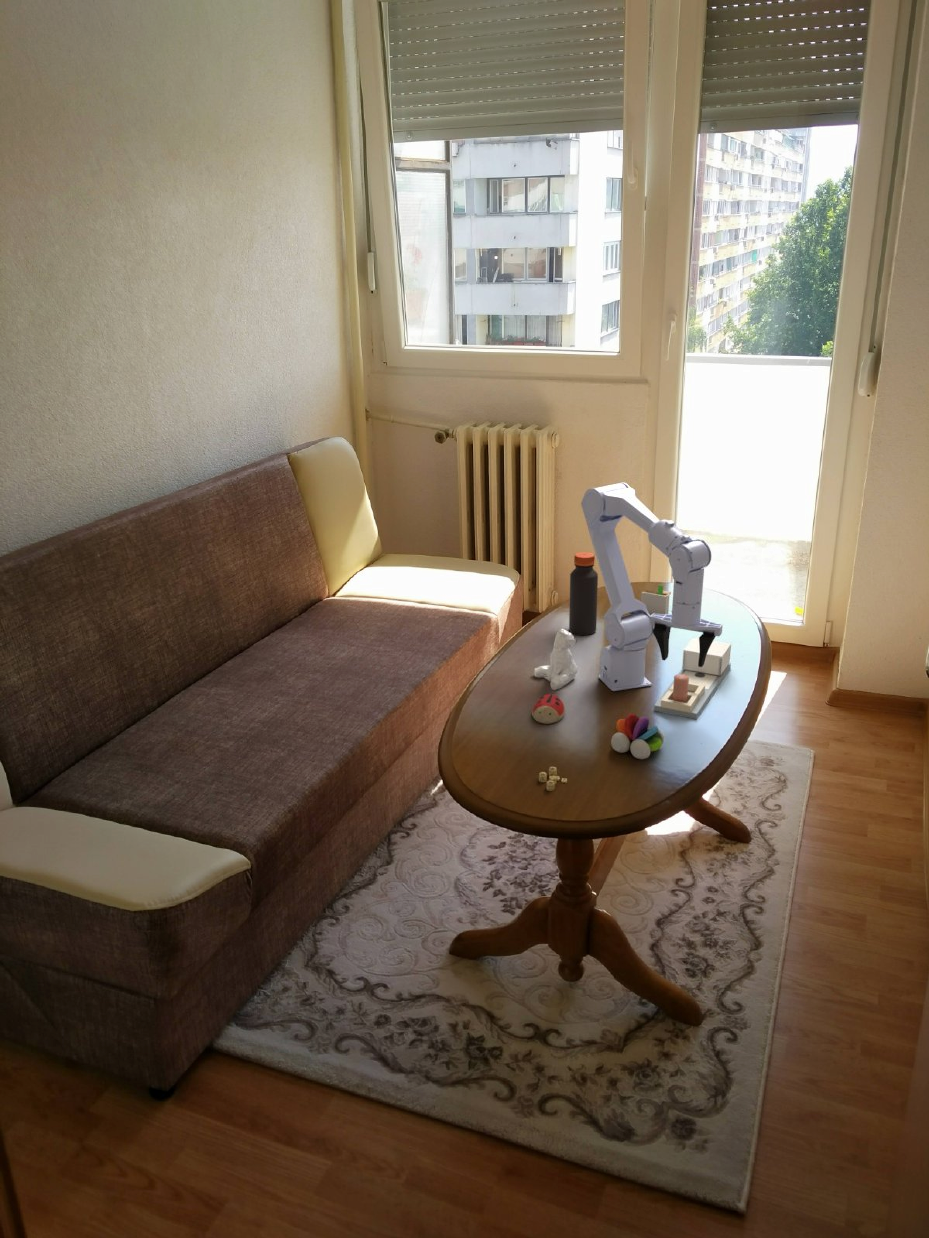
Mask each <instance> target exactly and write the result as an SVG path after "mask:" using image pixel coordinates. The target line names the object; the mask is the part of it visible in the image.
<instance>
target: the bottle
mask: <svg viewBox="0 0 929 1238" xmlns="http://www.w3.org/2000/svg"><path fill="white" fill-rule="evenodd" d="M573 557H574V558H573V559H574V562H573V563H574V566H575V568H574V569H573V570H572V571H571V572H570V574H569V610H568V611H569V617H568V618H569V619H568V621H569V622H568V631H570V633H571V634H572V635H573V634H574V635H577V636H590V635H593V634H595V633H596V631H597V622H598V621H597V620H598V619H597V616H598V615H597V614H598V612H597V611H598V585H599V584H598V582H599V576H598V572H597V571H596V570H595V569H594V566H595V561H596V560H595V557H596V554H595V553H593V552H590V551H589V552H588V551H579V552H576V553H574V556H573Z"/></svg>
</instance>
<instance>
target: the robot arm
mask: <svg viewBox="0 0 929 1238" xmlns="http://www.w3.org/2000/svg"><path fill="white" fill-rule="evenodd" d="M580 506H581V509H582V512H583V515H584V520H585V522H586V525H587V530H588V533H589V536H590V540H591V543H592V547H593V550H594V555H595V557H596V560H597V563H598V567H599V570H600V575H601V577H602V580H603V583H604V587H605V589H606V590H605V591H606V593H607V597H608V600H609V604H610V606H609V608H608V610H607V611H606V612H605V614H604V616H603V620H604V625H605V632H604V633H605V636H606V637H605V638H606V639H607V641H608V643H609V645H607V646H604V647H602V648H601V651H600V657H599V658H600V661H599V675H598V677H597V678H599V679H600V680H601V681H602V682H603V683H604V685H605V686H607V688H608V689H610V691H612V692H616V691H622V690H623V691H624V690H630V689H637V688H644V687H650V686H652V682H651V681H650V680H648V679H647V677H646V675H645V674H646V672H645V671H646V670H645V669H646V657H647V656H646V653H647V652H646V651H647V645H648V644H649V641H650V639H651V638H652V637H653V636H654V637H655V639H656V641H657V645H658V647H659V651H660V655H661V661H666V660H667V659H668V658H669V651H670V650H669V649H670V648H669V647H670V645H669V644H670V643H669V642H670V634H671V629H672V628H674V629H680V630H684V631H685V630H686V631H691V632H692V631H693V632H698V633H701V635H700V636H699V645H700V653H699V661H698V667H702V666H703V665H704V663H705V658H706V655H707V652H708V650H709V648H710V646H711V644H712V642H713V641H715V638H716V637H720V636H722V633H723V626H724V625H723V624H722V623H716V622H713V621H710V620H706V619H704V618H701V613H702V601H703V591H704V589H703V587H704V576H705V568H707V567H708V566H709V565H710V564H711V561H712V551H711V549H710V548H711V547H710V546H709V545H708V544H707V543H706V541H705V540H703V539H701V538H697V539H694V538H693V537H690V535H688V534H686V533H685V532H684V531H683V530H682V529H680V528H679V527H678V526H677V525H675V524H676V523H675V522H674V521H673V520H671V519H670V520H668V519H661V520H660V519H659V518H658V517H657V516H656V515H655V514H654V513H653V512H652V510H650V509H649V508H648V507H647V506H646V505H645V504H643V502H642V501H641V500H640V499H639V498H637V494H636V489H634V488H632V487H630V485H629V484H628V483H626V482H623V481H621V482H618V483H614V484H608V485H604V486H599V487H590V488H587V490H586V491H585V492H584V495H583V497H582V499H581V502H580ZM624 517H625V518H626V519H628V521H629V520H630V521H631V522H632V523H634V524H635V525H636V526H638V527H639V528H640V529H642V530H643V531H645V532H646V533H647V534H648V535H647V536H648V537H647V538H648V542H650V543H651V544H652V545H653V546H654V547H655V548H657V550H659V552H661V553H662V554H664V556H666V557H667V558H668V563H669V566H670V567H671V571H672V574H671V576H672V580H673V592H672V607H671V614H669V613H668V614H655V613H653V614H649V613H648V611H647V608H646V605H645V604H644V603H642V602H641V600H639V599H637V598H636V597H635V594H634V591H633V587H632V584H631V580H630V578H629V574H628V571H627V567H626V565H625V561H624V558H623V555H622V551H621V547H620V544H619V541H618V540H619V539H618V537H617V535H616V531H615V530H616V528H617V525H618V523H619V522H620V521H621V520H622V519H623V518H624ZM626 614H629V615H626ZM623 615H624V616H623ZM625 615H626V616H625Z"/></svg>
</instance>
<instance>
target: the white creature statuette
mask: <svg viewBox="0 0 929 1238" xmlns="http://www.w3.org/2000/svg"><path fill="white" fill-rule="evenodd" d="M554 638H555V639H554V644H553V645H552V647H553V649H552V652H551V653H550V654H549V656H550V663H549V665H548V664H547V665H539V666H538V667H535V668H534V669H533V670H534V672H533V673H534V677H535V678H538V679H539V678H543V679H545V680H547V681H548V682H550V688H551V690H554V691H557V690H561V689H562V688H563V687H564V686H566V685H568V684H569V683H571V681H573V680H574V679H575V678H576V675H577V674H578V670H579V668H578V667H577V664H576V661H575V660H574V658H573V654H572V652H571V650H570V648H572V646H573V645H575V644H576V638H575V636H574V635H573V633H571V632H569V630H566V629H564V628H561V629H559V630H558V631H557V632H556V635H555V637H554Z"/></svg>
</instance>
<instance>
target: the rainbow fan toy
mask: <svg viewBox="0 0 929 1238" xmlns="http://www.w3.org/2000/svg"><path fill="white" fill-rule="evenodd" d="M649 724H650V720H649V718H648V717H647V716H642V717H639V716H638V715H637V714H635V713H629V714H627V716H626V717H625V718H620V719H618V720H617V721H616V724H615V728H616V730H617V732H616V733H614V734H613V735H612V737H611V740H610V744H611V747H612V749H613V750H614V752H615V751H616V752H618V753H622V754H623V753H626V752H628V751H630V753H631V754H632V756H633V757H634V758H636V759H638V760H645V759H648V758H649V757H650V755H651V752H654V751H658V750H660V749H661V748H662V747H663V744H664V743H665V736H664V734H663V732H662V731H661V730H660V729H659V726H656V725H655V726H653V727H650V728H649Z"/></svg>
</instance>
